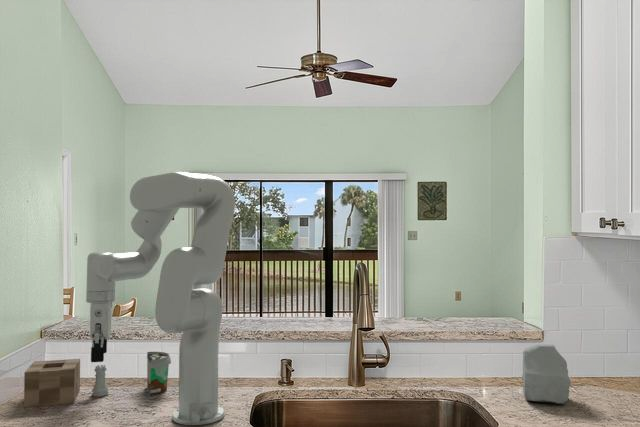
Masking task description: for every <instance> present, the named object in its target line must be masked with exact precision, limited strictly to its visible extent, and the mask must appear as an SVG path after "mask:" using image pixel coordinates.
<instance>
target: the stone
mask: <svg viewBox="0 0 640 427" xmlns="http://www.w3.org/2000/svg"><path fill="white" fill-rule="evenodd" d="M571 386H572V381H571V379H570V376H569V369H568V364H567V360H566V359H565V358H564V357H563V356H562V355H561V353H559V351H558V350H557V348H556V347H555V344H551V343H548V344H546V343H536V344H534V345H531V346H528V347H526V348H524V349H523V350H522V390H523V395H524V398H525V401H529V402H530V401H531V402H539V403H547V404H549V403H550V404H551V403H552V404H559V405H560V404H561V405H564V404H566V402H567V401H568V400H569V396H570V388H571Z"/></svg>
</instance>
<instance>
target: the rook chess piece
mask: <svg viewBox="0 0 640 427" xmlns="http://www.w3.org/2000/svg"><path fill="white" fill-rule="evenodd" d="M106 371H107V367H106V364H99V365H95V367H94V372H95V375H94V376H95V382H94V385H93V388H92V390H91V392H92V393H91V396H93V397H95V398H98V397H99V398H101V396H102V397H106V396H107V395H108V394H109V393H110V391H109V387H108V385H107V382H106V376H107V374H106ZM105 395H106V396H105Z"/></svg>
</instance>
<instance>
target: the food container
mask: <svg viewBox="0 0 640 427" xmlns="http://www.w3.org/2000/svg"><path fill="white" fill-rule="evenodd" d="M146 353H147V355H146V359H147V362H146V363H147V364H146V365H147V366H146V367H147V368H146V370H147V371H146V372H147V377H146V378H147V380H146V383H147V385H146V386H147V391H148V390H149V391H148V394H149V396H150V397H153V395H154V396H159V395H161V394H164V393H165V392H167V390H168V377H169V365H170V364H171V363H172V359H171V355H170V354H169V353H167V352H165V351H164V352H162V351H146ZM158 394H159V395H158Z"/></svg>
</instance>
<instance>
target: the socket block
mask: <svg viewBox="0 0 640 427" xmlns="http://www.w3.org/2000/svg"><path fill="white" fill-rule="evenodd" d="M23 375H24V376H23V378H24V379H23V381H24V383H23V384H24V386H23V388H24V390H23V394H24V395H23V408H30V407H32V408H33V407H34V408H35V407H42V406H55V405H68V404H74V403H75V402H76V400H77V398H78V395H79V394H80V390H81V358H71V359H70V358H69V359H55V360H54V359H53V360H38V361H33V362H32V363H31V364H30V366H28V367H27V369H26V370H25V371H24V374H23Z"/></svg>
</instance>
